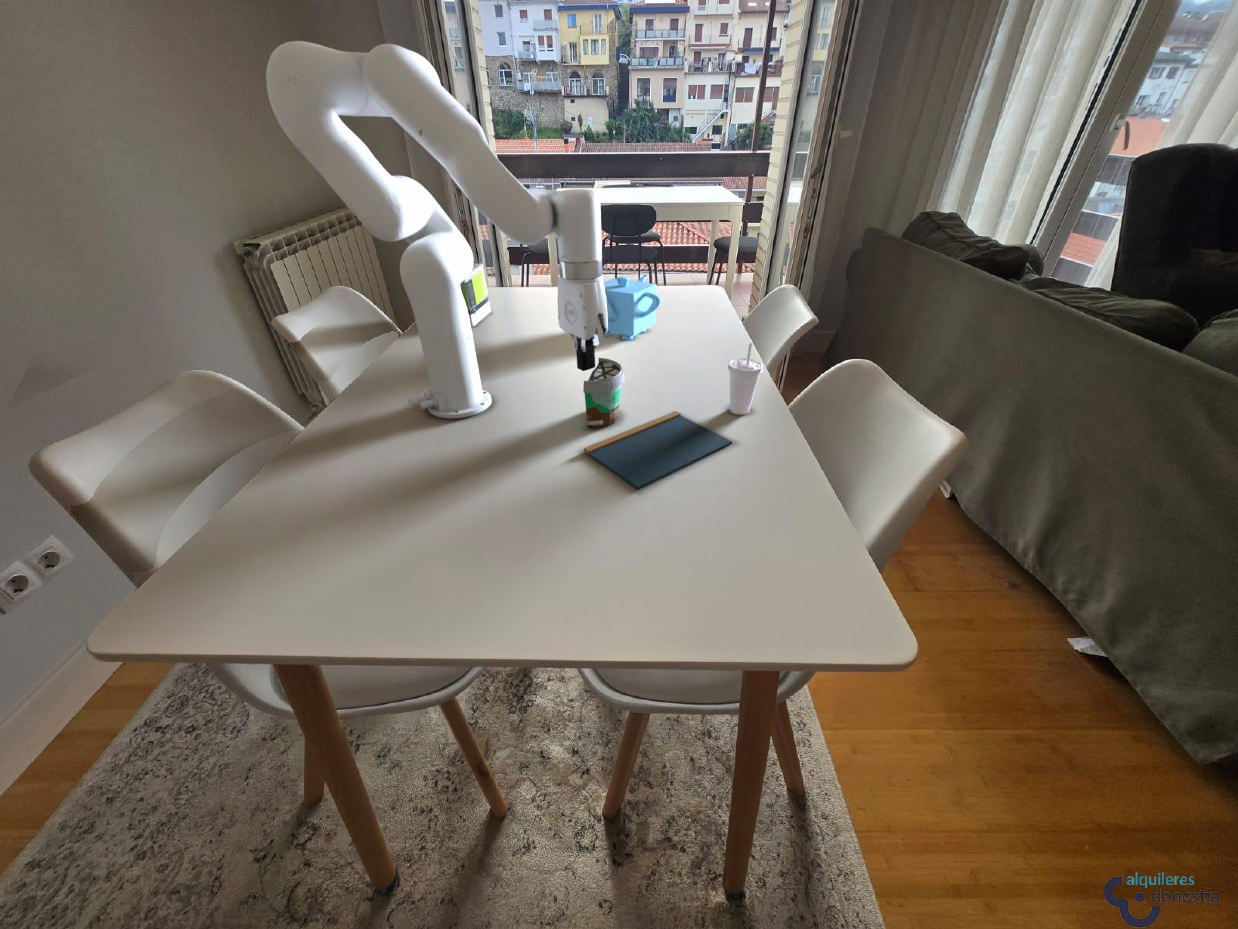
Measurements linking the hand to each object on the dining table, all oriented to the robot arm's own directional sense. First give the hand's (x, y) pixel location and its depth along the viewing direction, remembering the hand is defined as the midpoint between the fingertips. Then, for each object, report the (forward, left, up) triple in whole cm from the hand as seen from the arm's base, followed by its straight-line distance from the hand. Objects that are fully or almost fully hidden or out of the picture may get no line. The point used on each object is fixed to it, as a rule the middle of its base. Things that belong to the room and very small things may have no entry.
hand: (586, 368), depth 99 cm
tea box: (+6, +71, -8) cm, 72 cm away
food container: (0, -7, -8) cm, 11 cm away
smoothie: (+22, -21, -8) cm, 32 cm away
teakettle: (+34, +32, -8) cm, 47 cm away
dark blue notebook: (0, -22, -8) cm, 24 cm away
